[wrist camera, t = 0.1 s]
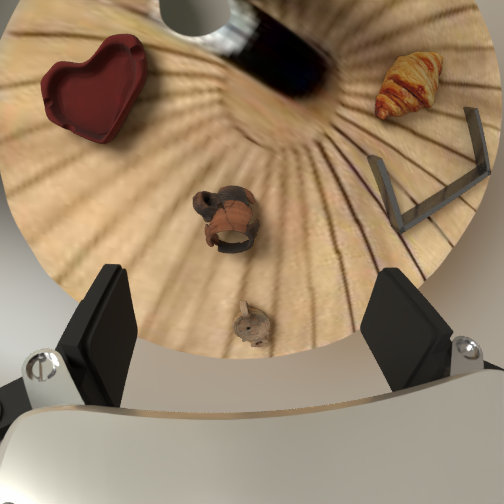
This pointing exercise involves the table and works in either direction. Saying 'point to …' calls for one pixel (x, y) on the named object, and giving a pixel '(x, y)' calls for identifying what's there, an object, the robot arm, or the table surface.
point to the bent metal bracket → (443, 196)
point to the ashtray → (96, 89)
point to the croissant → (409, 84)
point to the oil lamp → (251, 325)
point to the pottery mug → (227, 216)
